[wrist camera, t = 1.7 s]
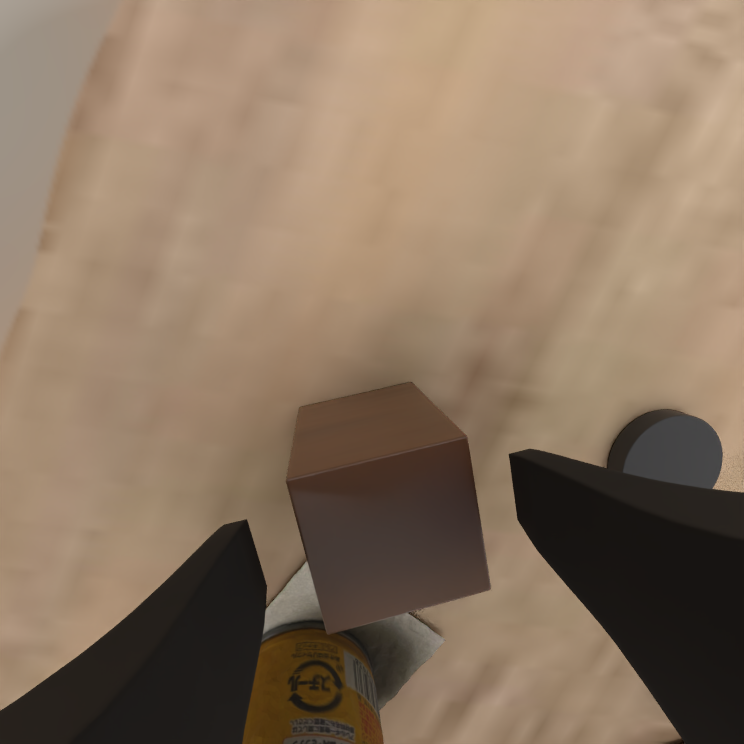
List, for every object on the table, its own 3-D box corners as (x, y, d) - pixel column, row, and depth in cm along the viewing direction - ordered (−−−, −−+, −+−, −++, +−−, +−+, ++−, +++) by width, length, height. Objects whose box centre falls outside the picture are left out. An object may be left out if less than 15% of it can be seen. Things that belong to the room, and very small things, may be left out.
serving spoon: (707, 686, 20) (726, 706, 20) (625, 712, 20) (641, 733, 19) (702, 398, 17) (725, 405, 16) (603, 422, 17) (620, 430, 16)
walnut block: (430, 483, 16) (491, 590, 10) (324, 510, 16) (326, 636, 10) (411, 381, 15) (467, 435, 9) (298, 406, 15) (285, 479, 9)
